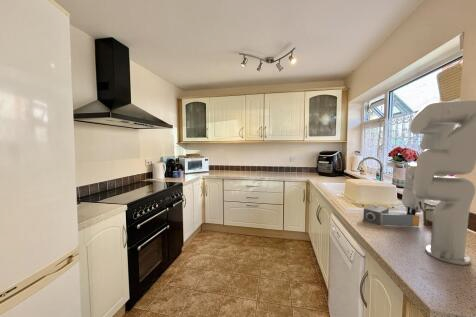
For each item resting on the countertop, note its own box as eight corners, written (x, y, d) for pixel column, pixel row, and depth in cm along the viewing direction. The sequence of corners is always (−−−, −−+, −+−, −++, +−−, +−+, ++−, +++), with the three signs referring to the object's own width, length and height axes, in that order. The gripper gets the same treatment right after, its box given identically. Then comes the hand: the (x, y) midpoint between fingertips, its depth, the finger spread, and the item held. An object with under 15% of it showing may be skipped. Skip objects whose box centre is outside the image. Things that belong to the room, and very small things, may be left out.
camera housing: (377, 225, 111) (378, 212, 110) (362, 221, 118) (362, 208, 117) (387, 220, 119) (388, 207, 118) (372, 215, 125) (373, 203, 125)
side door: (380, 225, 111) (381, 213, 110) (379, 224, 112) (380, 213, 111) (418, 227, 109) (419, 215, 108) (417, 226, 110) (418, 214, 109)
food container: (438, 222, 115) (440, 204, 114) (448, 227, 109) (450, 208, 108) (414, 221, 117) (415, 204, 116) (423, 226, 111) (424, 207, 110)
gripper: (433, 190, 102) (429, 225, 104) (410, 183, 117) (407, 214, 119) (416, 190, 103) (413, 225, 105) (396, 183, 118) (393, 214, 120)
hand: (410, 219), depth 112 cm, fingers closed
